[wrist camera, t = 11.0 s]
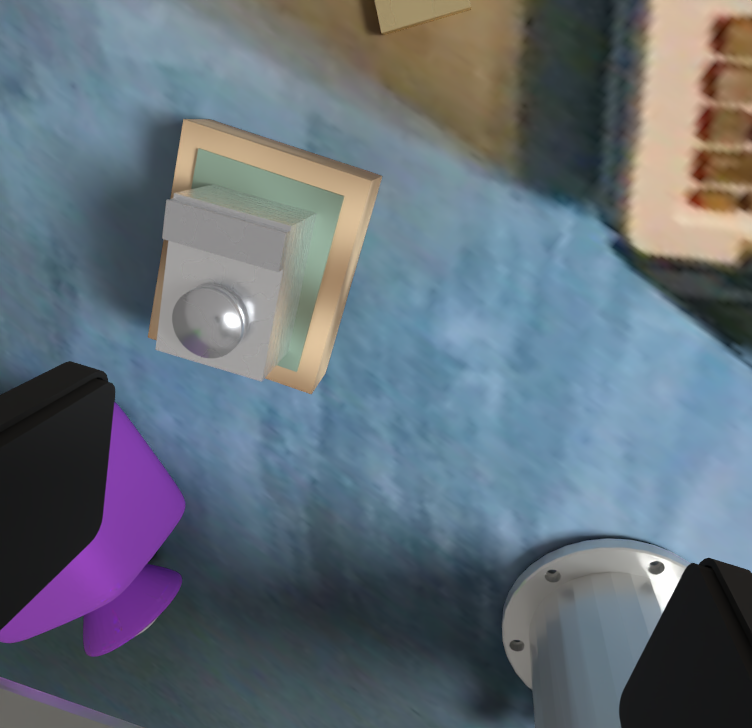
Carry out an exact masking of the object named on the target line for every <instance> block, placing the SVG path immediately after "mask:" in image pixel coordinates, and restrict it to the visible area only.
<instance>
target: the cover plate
mask: <svg viewBox="0 0 752 728" xmlns="http://www.w3.org/2000/svg"><path fill="white" fill-rule="evenodd" d="M375 5H376V10H377V15H378V19H379V24H380V29H381V33H382V34H383V35H387V34H390V33H394V32H397V31H400V30H404V29H407V28H411V27H414V26H417V25H421V24H424V23H428V22H431V21H434V20H438V19H441V18H445V17H448V16H451V15H455V14H458V13H462V12H465V11H468V10H471V5H470V0H375Z"/></svg>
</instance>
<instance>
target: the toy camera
mask: <svg viewBox="0 0 752 728" xmlns="http://www.w3.org/2000/svg"><path fill="white" fill-rule="evenodd" d="M184 510H185V500H184V497H183V495H182V493H181V491H180V490H179V488H178V486H177V485H176V483H175V482H174V481H173V479H172V478H171V476H170V475H169V473H168V472H167V471H166V469H165V468H164V466H163V465H162V464H161V462H160V461H159V459H158V458H157V457H156V455H155V454H154V453H153V451H152V450H151V448H150V447H149V446H148V444H147V443H146V442H145V440H144V439H143V437H142V436H141V435H140V433H139V432H138V431H137V429H136V428H135V426H134V425H133V424H132V422H131V421H130V420H129V418H128V417H127V416H126V414H125V413H124V412H123V410H122V409H121V408H120V407H119V406H118V405H117V404H116V403H115V402H114V411H113V421H112V431H111V441H110V451H109V461H108V471H107V481H106V491H105V501H104V511H103V519H102V524H101V527H100V529H99V531H98V533H97V535H96V537H95V538H94V539H93V541H92V542H91V543H90V544H89V545H88V546H87V547H86V548H85V549H84V550H83V551H82V552H81V553H80V554H79V555H77V556H76V557H75V558H74V559H73V560H72V561H71V562H70V563H69V564H68V565H67V566H66V567H65V568H64V569H63V570H62V571H61V572H60V573H59V574H58V575H57V576H56V577H55V578H54V579H53V580H52V581H51V582H50V583H49V584H48V585H47V586H46V587H45V588H44V589H43V590H42V591H40V592H39V593H38V594H37V595H36V596H35V597H34V598H33V599H32V600H31V601H30V602H29V603H28V604H27V605H26V606H25V607H24V608H23V609H22V610H21V611H20V612H19V613H18V614H17V615H16V616H15V617H14V618H13V619H12V620H11V621H10V622H9V623H8V624H7V625H6V626H5V627H3V628H2V629H1V630H0V641H1V642H4V643H15V642H19V641H23V640H26V639H29V638H31V637H34V636H36V635H39V634H41V633H44V632H46V631H49V630H51V629H54V628H56V627H58V626H61V625H63V624H65V623H68V622H70V621H72V620H74V619H77V618H79V617H81V616H83V615H84V623H83V644H84V650H85V652H86V654H87V655H89V656H100V655H103V654H106V653H108V652H111V651H113V650H115V649H116V648H118V647H120V646H122V645H123V644H125V643H126V642H128V641H129V640H130V639H132V638H133V637H135V636H137V635H139V634H141V633H142V632H144V631H145V630H146V629H147V628H148V627H150V626H151V625H152V624H153V622H154V621H155V620H156V619H157V617H158V616H159V615H160V614H161V613H162V612H163V611H164V610H165V609H166V608H167V606H168V605H169V604H170V603H171V601H172V600H173V599H174V598H175V596H176V594H177V593H178V591H179V589H180V586H181V583H182V577H181V575H180V574H179V573H178V572H176V571H173V570H171V569H167V568H164V567H160V566H155V565H150V564H147V563H148V562H149V561H150V559H151V558H152V557H153V556H154V554H155V553H156V552H157V550H158V549H159V548H160V546H161V545H162V544H163V543H164V541H165V540H166V539H167V537H168V536H169V535H170V533H171V532H172V531H173V529H174V528H175V526H176V525H177V524H178V522H179V520H180V519H181V517H182V515H183V513H184Z"/></svg>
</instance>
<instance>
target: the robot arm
mask: <svg viewBox="0 0 752 728" xmlns="http://www.w3.org/2000/svg"><path fill="white" fill-rule="evenodd" d="M114 401H115V387H114V385H113V384H112V383H110V382H108V378H107V375H106V374H105V372H104V371H100V370H97V369H94V368H91V367H87V366H84V365H81V364H78V363H74V362H70V361H69V362H66V363H63V364H61V365H59V366H57V367H55V368H53V369H51V370H49V371H47V372H45V373H43V374H41V375H39V376H37V377H35V378H33V379H31V380H29V381H27V382H25V383H23V384H21V385H19V386H17V387H15V388H13V389H11V390H9V391H8V392H6V393H4V394H2V395H0V630H1V629H2V628H3V627H5V626H6V625H7V624H8V623H9V622H10V621H11V620H12V619H13V618H14V617H15V616H16V615H17V614H18V613H19V612H20V611H21V610H22V609H23V608H24V607H25V606H26V605H27V604H28V603H29V602H30V601H31V600H32V599H33V598H34V597H35V596H36V595H37V594H38V593H39V592H40V591H42V590H43V589H44V588H45V587H46V586H47V585H48V584H49V583H50V582H51V581H52V580H53V579H54V578H55V577H56V576H57V575H58V574H59V573H60V572H61V571H62V570H63V569H64V568H65V567H66V566H67V565H68V564H69V563H70V562H71V561H72V560H73V559H74V558H75V557H76V556H77V555H79V554H80V553H81V552H82V551H83V550H84V549H85V548H86V547H87V546H88V545H89V544H90V543H91V542H92V541H93V539H94V538H95V537H96V535H97V533H98V531H99V529H100V527H101V524H102V519H103V511H104V501H105V491H106V481H107V471H108V461H109V451H110V441H111V431H112V421H113V411H114ZM502 636H503V644H504V648H505V651H506V655H507V658H508V660H509V662H510V663H511V665H512V667H513V669H514V671H515V672H516V674H517V675H518V676H519V677H520V679H521V680H522V681H523V682H524V683H525V685H526V686H528V687H529V688H530V689H531V690H532V691H533V705H534V722H535V728H752V573H751V572H750V571H749V570H746V569H744V568H740V567H737V566H734V565H731V564H727V563H724V562H721V561H718V560H714V559H711V558H706V559H704V560H703V561H702V562H700V564H699V565H698V564H695V563H690V562H688V561H686V560H685V559H683V558H681V557H680V556H678V555H677V554H675V553H673V552H670V551H668V550H665V549H663V548H660V547H658V546H655V545H652V544H648V543H643V542H639V541H634V540H625V539H609V538H608V539H597V540H587V541H583V542H579V543H575V544H571V545H567V546H564V547H562V548H559V549H557V550H555V551H553V552H550V553H548V554H546V555H545V556H543V557H542V558H540V559H539V560H537V561H536V562H534V563H533V564H531V565H530V566H529V567H528V568H527V569H526V570H525V571H524V572H523V573H522V574H521V575H520V576H519V577H518V578H517V580H516V582H515V583H514V585H513V586H512V588H511V589H510V591H509V593H508V596H507V598H506V601H505V604H504V607H503V616H502ZM0 728H144V727H141V726H138V725H135V724H133V723H130V722H127V721H124V720H121V719H118V718H116V717H113V716H110V715H107V714H104V713H101V712H99V711H96V710H93V709H90V708H87V707H84V706H82V705H79V704H76V703H73V702H70V701H67V700H64V699H62V698H59V697H56V696H53V695H50V694H47V693H45V692H42V691H39V690H36V689H33V688H30V687H28V686H25V685H22V684H19V683H16V682H13V681H11V680H8V679H5V678H2V677H0Z"/></svg>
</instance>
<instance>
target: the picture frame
mask: <svg viewBox="0 0 752 728" xmlns="http://www.w3.org/2000/svg"><path fill="white" fill-rule="evenodd" d="M381 179H382V176H381V175H378V174H375V173H372V172H369V171H366V170H363V169H360V168H357V167H354V166H351V165H348V164H345V163H342V162H338V161H335V160H332V159H329V158H326V157H323V156H320V155H317V154H314V153H311V152H308V151H305V150H302V149H299V148H296V147H293V146H290V145H287V144H284V143H281V142H277V141H274V140H271V139H268V138H265V137H262V136H259V135H256V134H253V133H250V132H247V131H244V130H241V129H238V128H235V127H232V126H229V125H226V124H223V123H220V122H217V121H213V120H210V119H183V125H182V132H181V138H180V144H179V150H178V156H177V162H176V168H175V174H174V180H173V187H172V193H171V198H173V197H174V193H177V192H181V191H186V190H190V189H195V188H199V187H204V186H208V185H213V184H214V185H218V186H221V187H225V188H229V189H232V190H236V191H239V192H243V193H247V194H250V195H254V196H257V197H261V198H264V199H268V200H272V201H275V202H279V203H282V204H286V205H290V206H293V207H297V208H300V209H304V210H307V211H311V212H315V213H317V215H316V219H315V224H314V229H313V234H312V239H311V244H310V249H309V254H308V259H307V263H306V268H305V273H304V278H303V283H302V288H301V293H300V298H299V303H298V307H297V312H296V317H295V322H294V327H293V332H292V337H291V342H290V347H289V351H288V353H287V354H286V355H285V356H284V357H283V358H282V359H281V361H280V362H279V363H278V364H277V365H276V366H275V367H274V368H273V370H272V371H271V372H270V373H269V374H268V375H267V376H266V377H265V378H266V379H269V380H272V381H275V382H278V383H280V384H283V385H286V386H289V387H292V388H295V389H298V390H301V391H303V392H306V393H309V394H312V393H313V391H314V390H315V388H316V387H317V385H318V384H319V382H320V381H321V379H322V378H323V376H324V375H325V373H326V369H327V366H328V363H329V359H330V356H331V352H332V349H333V345H334V342H335V338H336V335H337V331H338V328H339V324H340V321H341V317H342V314H343V311H344V307H345V304H346V300H347V297H348V293H349V290H350V286H351V283H352V279H353V276H354V272H355V269H356V265H357V262H358V259H359V255H360V252H361V248H362V245H363V241H364V238H365V234H366V231H367V227H368V224H369V220H370V217H371V213H372V210H373V207H374V203H375V200H376V196H377V193H378V189H379V186H380V182H381ZM167 248H168V240H165V239H164V241H163V248H162V254H161V260H160V266H159V272H158V278H157V284H156V290H155V296H154V303H153V309H152V315H151V321H150V327H149V333H148V338H151V339H154V340H157V334H158V325H159V316H160V308H161V299H162V291H163V282H164V274H165V265H166V257H167Z"/></svg>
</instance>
